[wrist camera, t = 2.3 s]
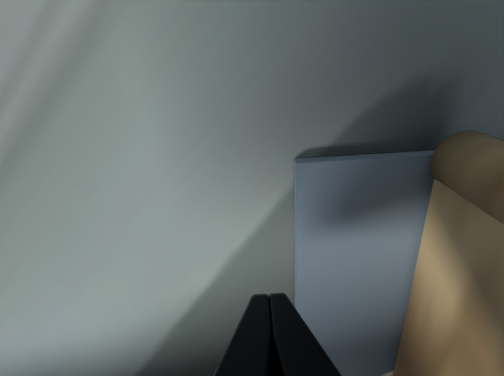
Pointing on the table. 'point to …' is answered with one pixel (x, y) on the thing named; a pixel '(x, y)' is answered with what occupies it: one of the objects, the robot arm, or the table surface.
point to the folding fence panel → (459, 266)
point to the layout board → (358, 252)
